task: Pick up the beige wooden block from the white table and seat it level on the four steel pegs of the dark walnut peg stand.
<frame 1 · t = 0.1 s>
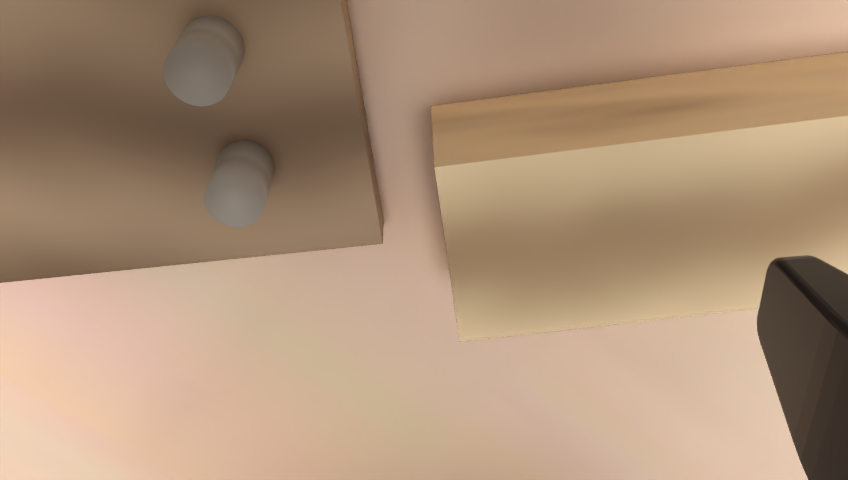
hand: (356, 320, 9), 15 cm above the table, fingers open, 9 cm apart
beige wooden block: (697, 155, 25), on the table
peg stand: (36, 113, 23), on the table
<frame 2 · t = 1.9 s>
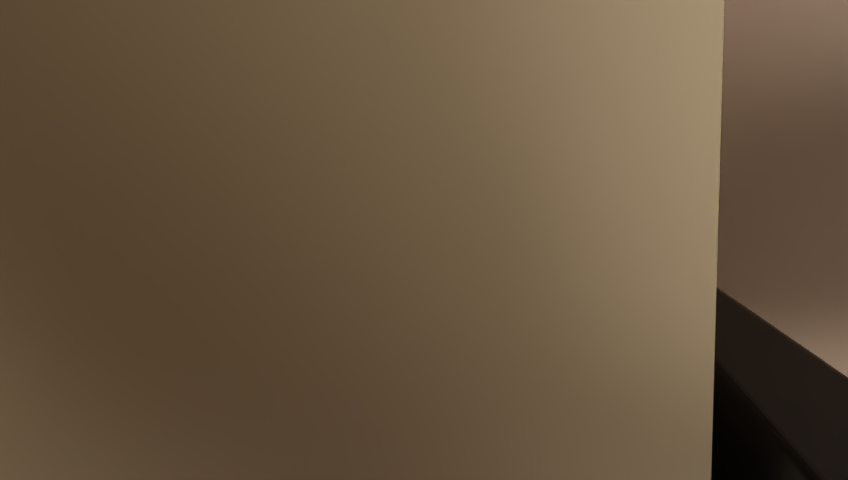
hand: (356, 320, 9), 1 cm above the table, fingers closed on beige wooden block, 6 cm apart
beige wooden block: (360, 254, 10), on the table, touching gripper
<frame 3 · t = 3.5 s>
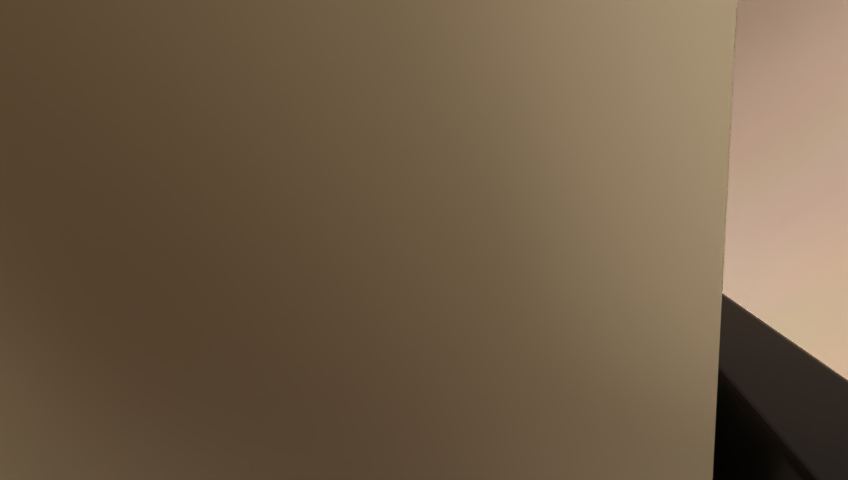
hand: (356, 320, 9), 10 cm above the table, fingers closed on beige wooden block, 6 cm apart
beige wooden block: (360, 254, 10), point 9 cm above the table, touching gripper
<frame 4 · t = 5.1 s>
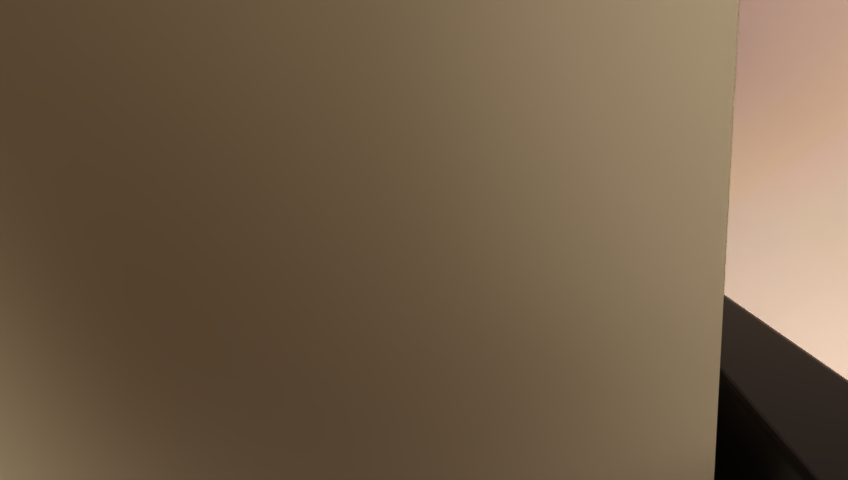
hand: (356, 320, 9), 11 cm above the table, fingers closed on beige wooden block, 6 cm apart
beige wooden block: (360, 253, 10), point 10 cm above the table, touching gripper
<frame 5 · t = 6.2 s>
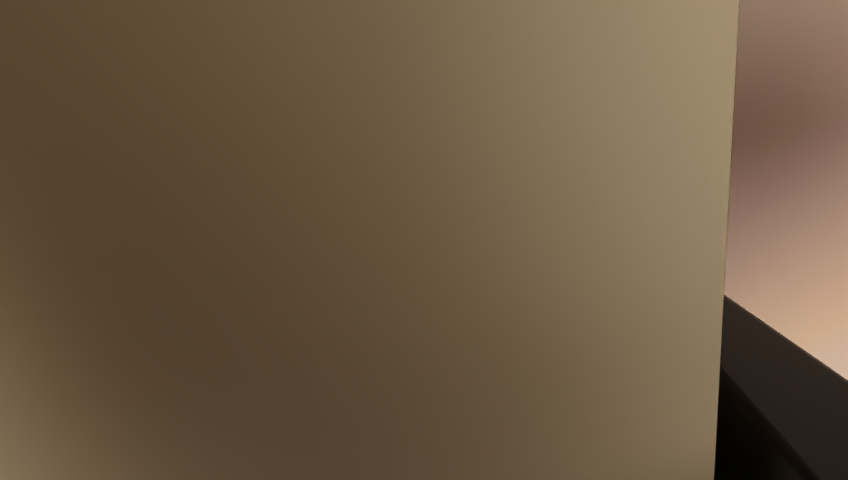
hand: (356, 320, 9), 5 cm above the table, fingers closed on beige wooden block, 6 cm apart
beige wooden block: (360, 254, 10), point 4 cm above the table, touching gripper
when the fingers open (5 cm above the table, at t = 7.0 s): beige wooden block drops 1 cm, resting on peg stand.
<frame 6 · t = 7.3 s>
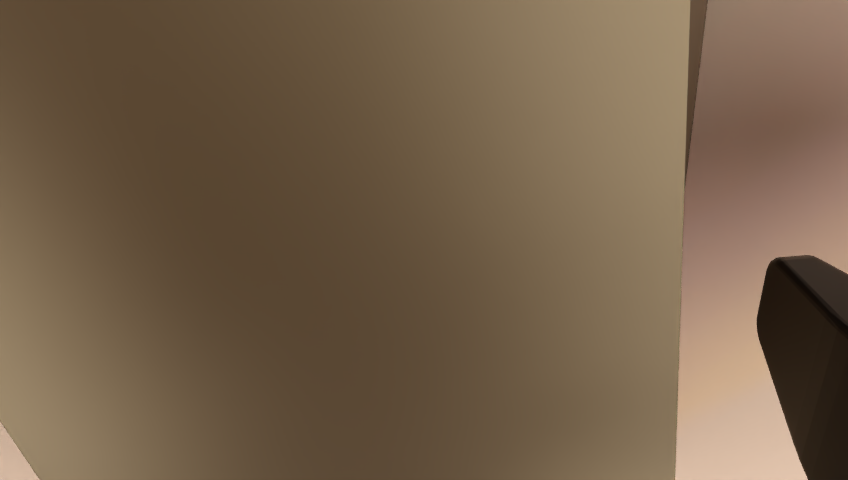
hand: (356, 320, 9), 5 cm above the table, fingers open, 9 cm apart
beige wooden block: (366, 206, 11), point 3 cm above the table, touching peg stand
peg stand: (372, 109, 13), on the table
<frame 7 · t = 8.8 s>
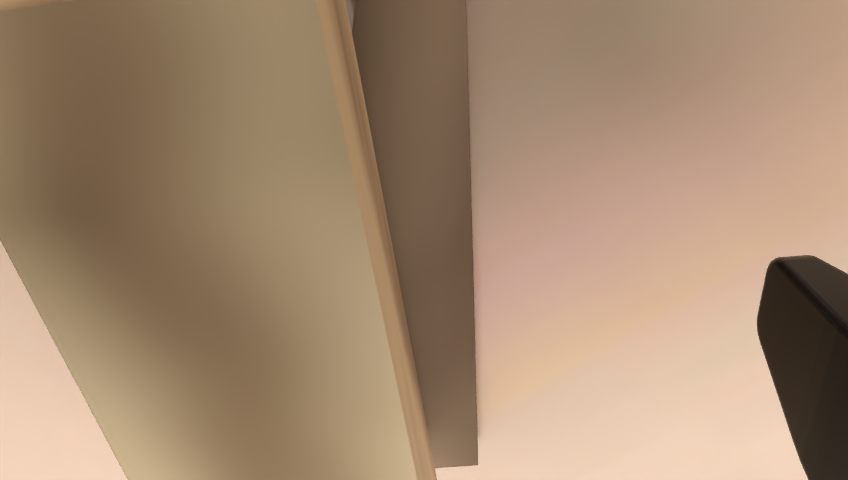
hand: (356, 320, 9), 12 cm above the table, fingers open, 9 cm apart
beige wooden block: (270, 279, 19), point 3 cm above the table, touching peg stand
peg stand: (284, 210, 21), on the table
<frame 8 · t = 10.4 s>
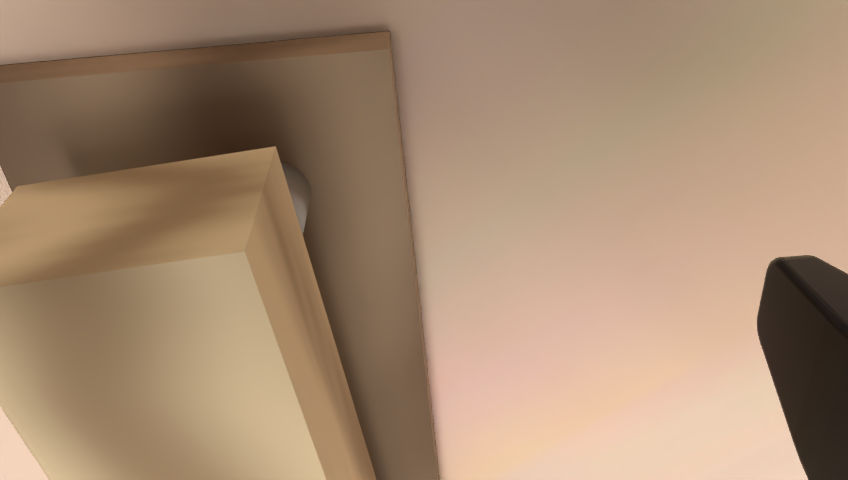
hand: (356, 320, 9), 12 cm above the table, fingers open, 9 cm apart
beige wooden block: (247, 414, 22), point 3 cm above the table, touching peg stand
peg stand: (263, 339, 25), on the table
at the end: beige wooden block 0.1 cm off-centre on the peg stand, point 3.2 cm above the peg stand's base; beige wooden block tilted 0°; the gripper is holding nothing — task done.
